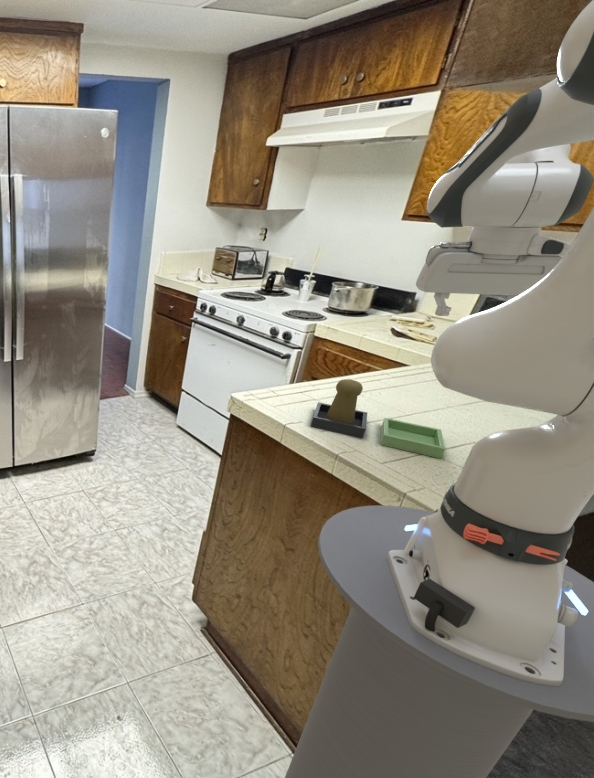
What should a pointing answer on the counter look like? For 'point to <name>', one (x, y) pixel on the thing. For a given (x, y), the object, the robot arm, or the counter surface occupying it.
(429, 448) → the green tray
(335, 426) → the dark tray
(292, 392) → the counter surface
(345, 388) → the olive brown pawn
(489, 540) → the robot arm
